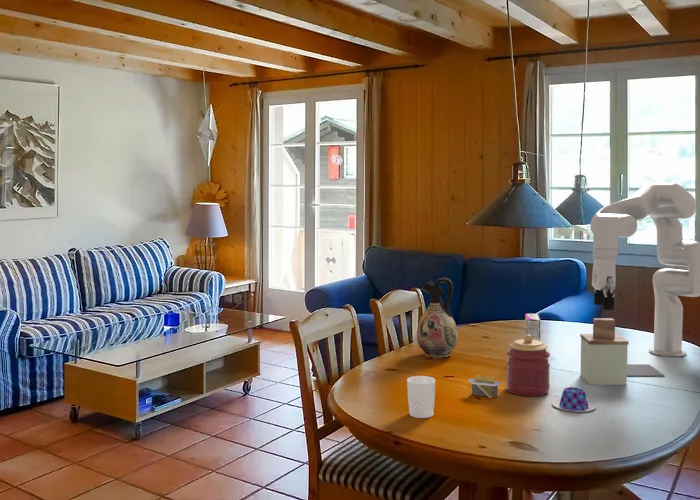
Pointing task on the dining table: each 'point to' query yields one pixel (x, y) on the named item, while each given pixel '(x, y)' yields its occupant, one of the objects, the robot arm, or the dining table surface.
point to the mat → (642, 371)
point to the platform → (485, 386)
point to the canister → (528, 367)
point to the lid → (604, 333)
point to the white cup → (421, 396)
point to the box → (604, 364)
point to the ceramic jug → (437, 322)
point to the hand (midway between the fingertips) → (603, 307)
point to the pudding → (574, 400)
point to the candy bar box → (532, 326)
